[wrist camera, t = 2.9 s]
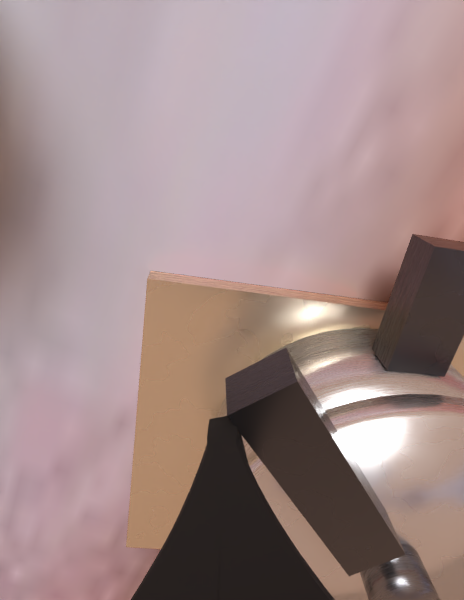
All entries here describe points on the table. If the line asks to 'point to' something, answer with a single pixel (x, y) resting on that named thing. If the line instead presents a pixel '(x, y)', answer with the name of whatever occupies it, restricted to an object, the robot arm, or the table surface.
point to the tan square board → (270, 339)
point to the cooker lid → (359, 481)
